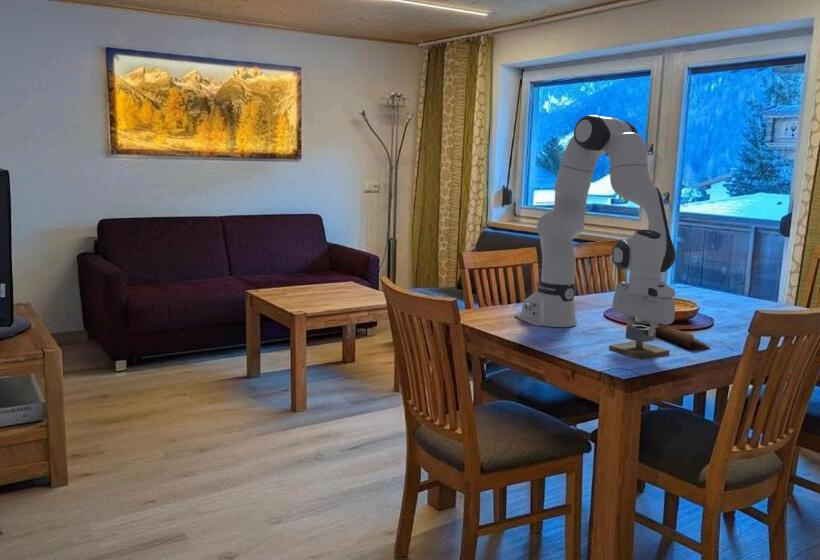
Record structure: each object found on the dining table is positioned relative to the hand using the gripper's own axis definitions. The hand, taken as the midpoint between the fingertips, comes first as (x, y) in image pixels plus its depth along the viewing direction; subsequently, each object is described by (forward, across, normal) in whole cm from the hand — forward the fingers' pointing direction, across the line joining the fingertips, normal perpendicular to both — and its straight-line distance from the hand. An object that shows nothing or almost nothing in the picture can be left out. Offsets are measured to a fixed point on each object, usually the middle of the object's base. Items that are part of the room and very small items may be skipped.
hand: (640, 333), depth 210 cm
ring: (+2, 0, 0) cm, 2 cm away
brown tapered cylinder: (+6, -1, +21) cm, 22 cm away
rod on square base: (+6, 0, 0) cm, 6 cm away
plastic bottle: (+6, -25, +31) cm, 40 cm away
